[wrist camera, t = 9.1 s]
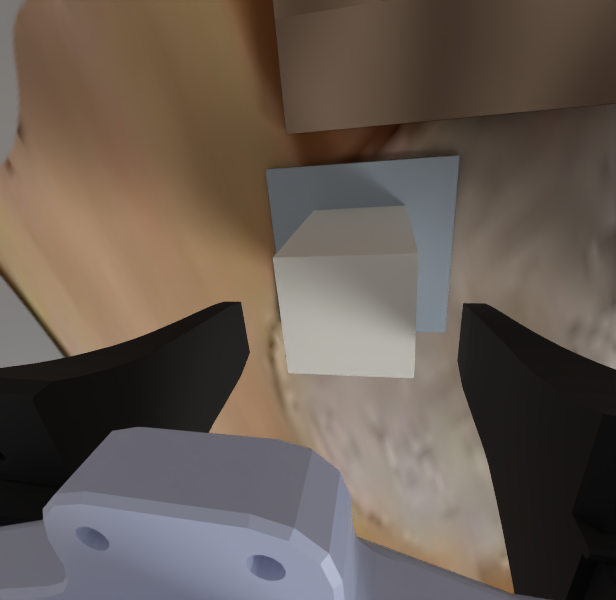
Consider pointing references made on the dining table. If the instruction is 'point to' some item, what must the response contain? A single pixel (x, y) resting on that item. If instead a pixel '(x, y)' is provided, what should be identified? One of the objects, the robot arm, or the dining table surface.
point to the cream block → (350, 293)
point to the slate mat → (379, 193)
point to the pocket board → (440, 59)
